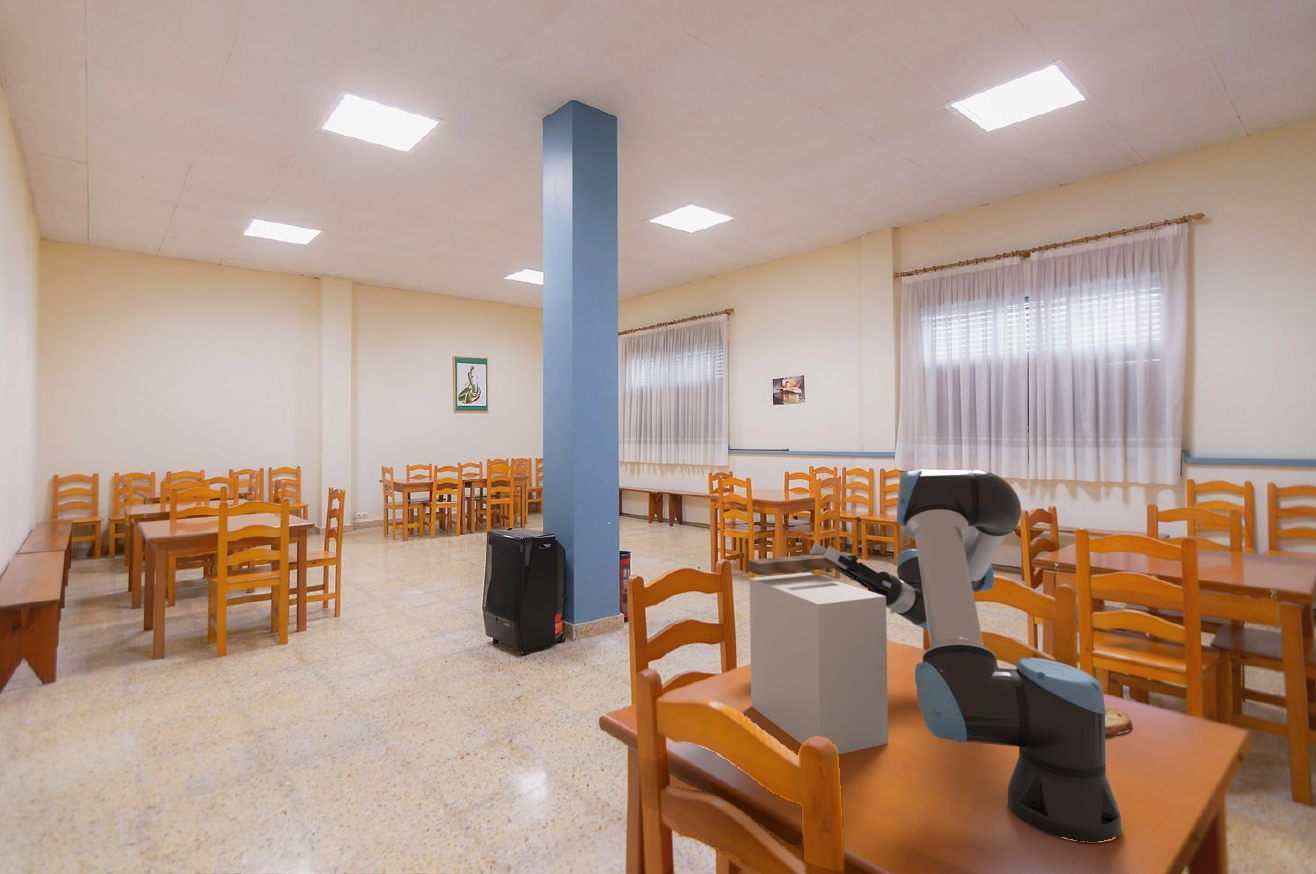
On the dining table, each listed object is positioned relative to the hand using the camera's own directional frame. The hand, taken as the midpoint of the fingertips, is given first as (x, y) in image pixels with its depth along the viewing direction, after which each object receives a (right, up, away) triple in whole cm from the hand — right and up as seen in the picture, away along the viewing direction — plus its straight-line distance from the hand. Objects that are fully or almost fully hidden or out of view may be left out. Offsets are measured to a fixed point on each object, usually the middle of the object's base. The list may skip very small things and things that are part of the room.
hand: (820, 549), depth 145 cm
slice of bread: (+51, -35, -12) cm, 63 cm away
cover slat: (-4, -4, -2) cm, 6 cm away
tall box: (-4, -35, -12) cm, 37 cm away
